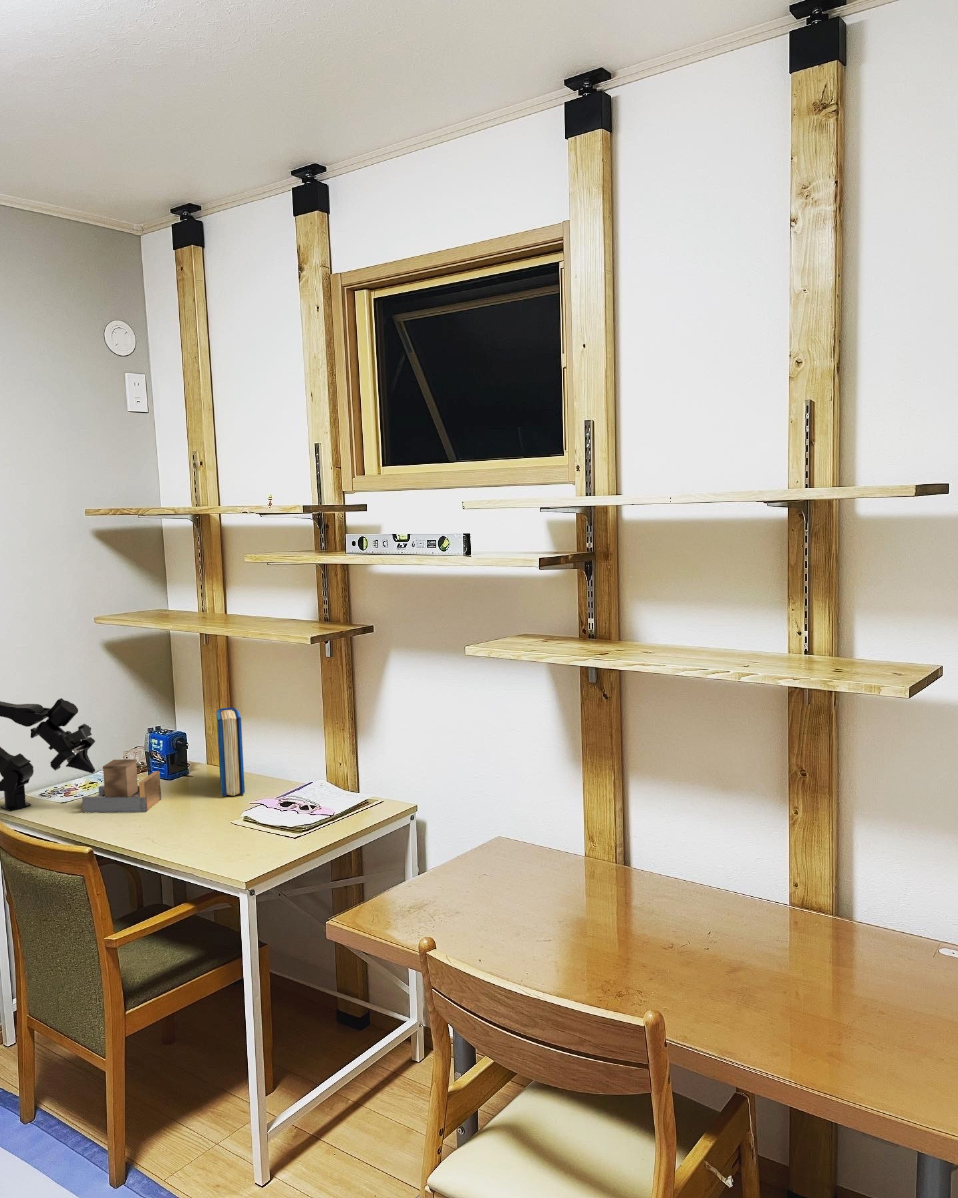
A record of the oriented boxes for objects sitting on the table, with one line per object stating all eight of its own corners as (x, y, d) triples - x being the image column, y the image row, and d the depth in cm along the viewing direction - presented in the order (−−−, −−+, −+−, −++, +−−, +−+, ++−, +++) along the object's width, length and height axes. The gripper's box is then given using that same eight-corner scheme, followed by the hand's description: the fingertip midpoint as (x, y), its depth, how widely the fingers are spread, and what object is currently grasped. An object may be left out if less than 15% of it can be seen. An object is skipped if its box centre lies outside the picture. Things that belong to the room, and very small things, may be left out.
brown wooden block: (104, 799, 287) (102, 766, 286) (115, 791, 294) (113, 759, 293) (127, 798, 287) (125, 766, 286) (138, 791, 294) (136, 759, 293)
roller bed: (83, 812, 285) (81, 783, 284) (101, 800, 296) (99, 771, 296) (145, 812, 284) (144, 782, 283) (161, 799, 295) (159, 771, 295)
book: (219, 779, 316) (215, 705, 313) (241, 777, 318) (237, 703, 315) (221, 798, 295) (217, 719, 293) (245, 796, 297) (241, 717, 295)
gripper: (57, 725, 279) (97, 761, 279) (86, 711, 297) (124, 745, 298) (33, 752, 280) (72, 788, 280) (64, 736, 299) (101, 770, 299)
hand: (93, 772), depth 289 cm, fingers closed
